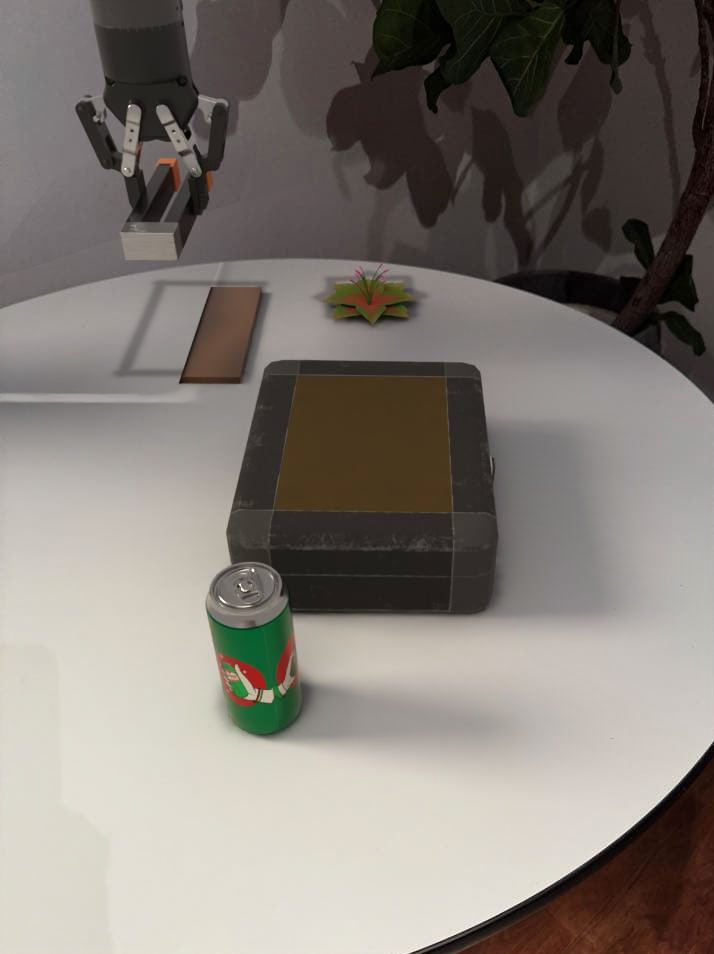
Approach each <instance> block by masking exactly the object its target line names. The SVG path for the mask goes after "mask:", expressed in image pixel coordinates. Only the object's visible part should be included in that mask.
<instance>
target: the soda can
mask: <svg viewBox="0 0 714 954" xmlns="http://www.w3.org/2000/svg"><path fill="white" fill-rule="evenodd" d="M208 589H209V590H208V593H207V595H206V597H205V611H206V616H207V621H208V625H209V629H210V635H211V640H212V644H213V649H214V652H215V653H214V654H215V658H216V662H217V663H216V664H217V667H218V672H219V678H220V682H221V687H222V691H223V697H224V701H225V706H226V710H227V714H228V717H229V719H230V721H231V722H232V723H233V724H234V725H235V726H236V727H237V728H238V729H241V730H242V731H243V732H248V733H250V734H254V735H255V734H256V735H265V734H272V733H276V732H278V731H280V730H282V729H284V728H286V727H288V726H289V725H290V724H291V723H292V722H293V721H294V720H295V719H296V718H297V716H298V715H299V713H300V712H301V711H300V710H301V708H302V702H303V697H302V688H301V679H300V672H299V661H298V652H297V645H296V644H297V643H296V636H295V628H294V627H295V626H294V619H293V611H292V609H291V600H290V593H289V589H288V587H287V585H286V584H285V582H284V581H283V580H282V579H281V577H280V575H279V574H278V573H277V571H276V570H274V569H273V568H272V567H270V566H268V565H266V564H263V563H258V562H242V563H237V564H233V565H231V564H230V565H228V566H227V567H225V568H223V569H222V570H220V571H218V573H217V574H215V576H214V577H213V579H212V580H211V582H210V584H209V588H208Z"/></svg>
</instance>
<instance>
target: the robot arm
mask: <svg viewBox="0 0 714 954" xmlns="http://www.w3.org/2000/svg"><path fill="white" fill-rule="evenodd" d="M88 4H89V10H90V15H91V19H92V24H93V29H94V34H95V38H96V44H97V48H98V53H99V59H100V63H101V68H102V69H101V70H102V73H103V78H104V89H103V92H102V93H101V94H98V95H94V96H92V94H91V95H90V94H85V95H84V96H83V97H82V98H80V100H79V101H78V102H77V103H76V104H75V107H74V110H75V113H76V115H77V117H78V119H79V121H80V123H81V126H82V128H83V130H84V132H85V134H86V137H87V138H88V141H89V142H90V145H91V147H92V149H93V151H94V154H95V155H96V157H97V160H98V161H99V164H100V166H101V168H102V169H104V170H106V171H110V170H113V171H116V172H118V173H120V174H121V175H122V177H123V179H124V184H125V189H126V193H127V199H128V204H129V205H130V208H131V210H133V208H134V206H135V205H136V203H137V201H138V199H139V198H140V196H141V194H142V192H143V191H144V189H145V187H146V185H147V184H146V181H145V180H146V179H145V174H144V170H143V168H140V164H141V157H142V151H143V145H144V142H145V143H146V142H147V143H148V142H152V141H155V140H157V141H161V142H164V143H171V144H172V145H173V147H174V149H175V151H176V153H177V154H178V156H180V157H181V160H182V161H183V163H184V165H185V167H186V169H187V171H189V173H190V175H189V177H188V184H189V190H190V196H191V200H192V207H193V213H194V215H197V216H199V217H200V216H202V215H203V213H204V211H205V210H206V209H207V207H208V205H209V201H210V192H208V186H207V179H206V173H207V172H209V171H212V172H216V171H218V170H219V169H220V168H221V164H222V162H223V161H224V157H225V149H226V143H227V142H226V141H227V132H228V124H229V116H230V115H229V114H230V109H231V102H230V100H229V98H228V97H226V96H219V97H218V98H216V97H211V96H207V95H205V94H201V93H200V91H199V89H198V87H197V86H196V84H195V82H194V80H193V75H192V69H191V61H190V56H189V47H188V42H187V41H188V40H187V35H186V34H187V33H186V27H185V21H184V20H185V19H184V12H183V11H184V3H183V0H88ZM107 109H108V110H109V111H110V112H111V113H112V114H113V116H114V117H115V118H116V119H117V120H118V121H119V123H120V124H121V125H122V126H123V127H124V134H123V142H122V152H120V151H119V150H118V148H117V145H116V144H115V140H114V138H113V136H112V134H111V131H110V129H109V128H108V127H109V126H108V125H107V123H106V119H107V118H108V112H107ZM197 109H199V110H200V111H201V112H202V114H203V119H204V122H205V123H206V124H208V125H210V130H209V137H208V138H209V139H208V148H207V153H204V154H203V153H202V151H201V147H200V146H199V144H198V140H197V136H196V134H195V132H194V130H193V127H192V126H191V123H190V122H191V120H192V118H193V116H194V115H195V113H196V111H197Z"/></svg>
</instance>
